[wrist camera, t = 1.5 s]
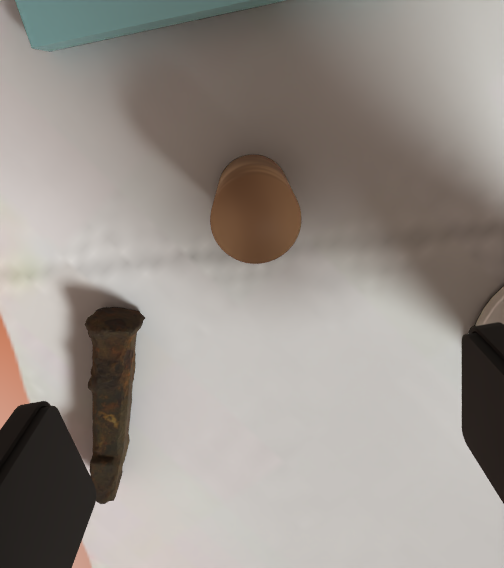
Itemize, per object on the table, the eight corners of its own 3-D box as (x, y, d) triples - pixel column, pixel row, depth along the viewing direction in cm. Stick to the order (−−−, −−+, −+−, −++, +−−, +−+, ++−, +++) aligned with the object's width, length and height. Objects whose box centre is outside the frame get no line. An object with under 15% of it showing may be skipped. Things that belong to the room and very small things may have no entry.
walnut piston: (281, 148, 30) (294, 166, 23) (292, 217, 32) (306, 255, 25) (211, 161, 30) (201, 184, 23) (226, 229, 32) (220, 270, 25)
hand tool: (98, 299, 35) (77, 328, 30) (147, 307, 35) (134, 337, 31) (86, 469, 42) (69, 512, 38) (128, 475, 43) (115, 518, 38)
